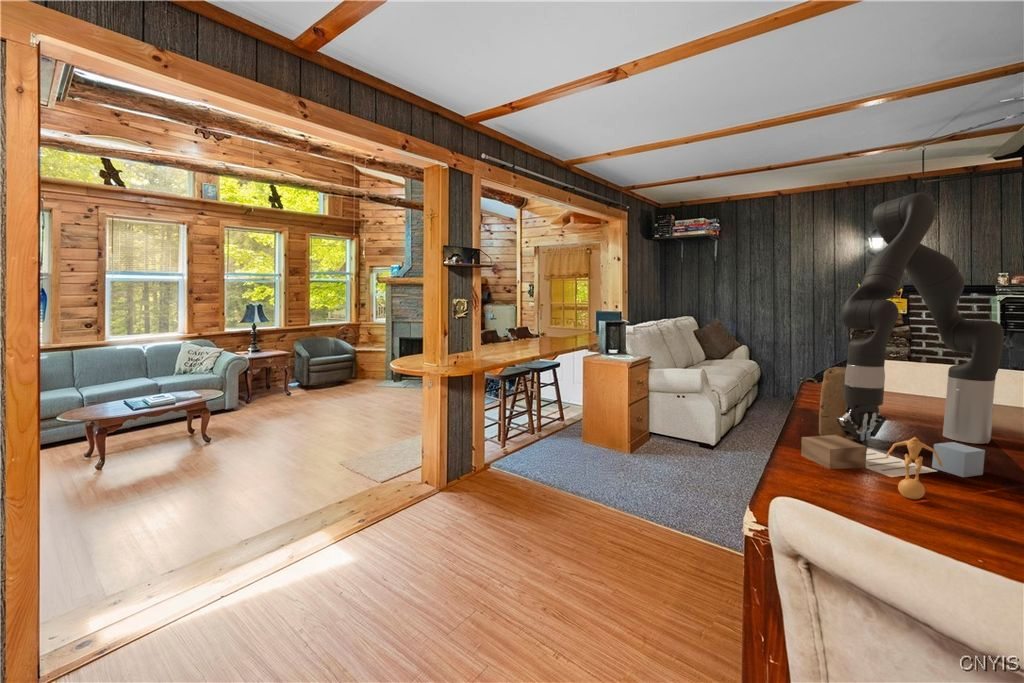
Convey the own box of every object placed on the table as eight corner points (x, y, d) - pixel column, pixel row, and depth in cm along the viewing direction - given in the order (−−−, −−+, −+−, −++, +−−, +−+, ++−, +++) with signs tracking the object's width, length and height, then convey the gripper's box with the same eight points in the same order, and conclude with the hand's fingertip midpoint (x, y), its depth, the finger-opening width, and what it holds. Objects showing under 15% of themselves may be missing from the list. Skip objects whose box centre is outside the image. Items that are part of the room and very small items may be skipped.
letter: (852, 444, 122) (853, 443, 122) (938, 472, 103) (938, 470, 103) (810, 449, 119) (811, 447, 119) (891, 478, 100) (891, 476, 100)
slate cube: (950, 466, 107) (952, 441, 106) (982, 476, 101) (985, 450, 100) (931, 469, 105) (933, 444, 105) (962, 479, 99) (965, 452, 99)
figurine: (883, 496, 91) (887, 437, 90) (883, 486, 95) (888, 430, 94) (939, 508, 85) (945, 446, 84) (937, 497, 90) (943, 438, 89)
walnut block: (834, 454, 114) (835, 434, 113) (865, 467, 105) (866, 446, 105) (801, 456, 113) (801, 437, 113) (829, 470, 104) (830, 449, 104)
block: (846, 444, 122) (851, 371, 120) (814, 437, 128) (819, 368, 126) (860, 437, 129) (865, 367, 127) (830, 431, 135) (834, 364, 133)
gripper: (869, 379, 113) (865, 447, 115) (827, 382, 110) (823, 451, 112) (902, 385, 106) (896, 457, 108) (857, 388, 103) (852, 462, 104)
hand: (859, 454), depth 110 cm, fingers closed
